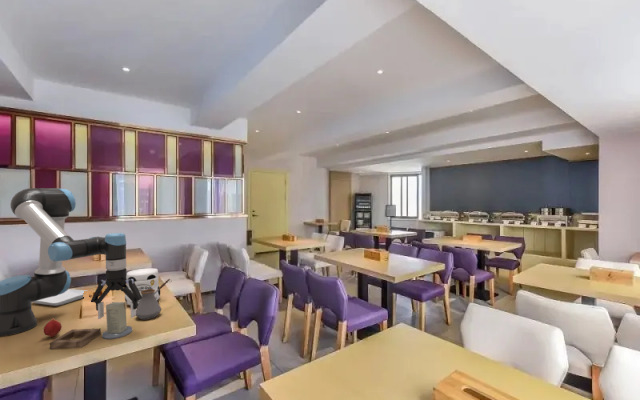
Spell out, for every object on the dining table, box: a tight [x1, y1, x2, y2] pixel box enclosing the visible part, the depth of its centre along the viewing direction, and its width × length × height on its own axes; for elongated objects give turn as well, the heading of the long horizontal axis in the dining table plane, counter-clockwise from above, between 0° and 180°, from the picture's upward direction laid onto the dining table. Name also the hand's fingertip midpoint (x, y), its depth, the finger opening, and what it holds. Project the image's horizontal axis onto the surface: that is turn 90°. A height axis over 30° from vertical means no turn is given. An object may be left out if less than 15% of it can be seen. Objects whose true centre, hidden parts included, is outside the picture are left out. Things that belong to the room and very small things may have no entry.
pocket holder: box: [48, 328, 102, 350], centre depth 127 cm, size 12×12×2 cm
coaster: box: [101, 325, 133, 340], centre depth 134 cm, size 11×11×1 cm
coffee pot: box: [135, 278, 172, 321], centre depth 158 cm, size 21×12×15 cm, turn 166°
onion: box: [43, 318, 63, 338], centre depth 131 cm, size 6×6×8 cm
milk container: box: [124, 267, 161, 307], centre depth 172 cm, size 17×17×18 cm
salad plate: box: [32, 288, 87, 307], centre depth 179 cm, size 21×21×3 cm
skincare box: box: [105, 301, 128, 333], centre depth 134 cm, size 6×4×12 cm
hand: (117, 317), depth 134 cm, fingers open, 13 cm apart
